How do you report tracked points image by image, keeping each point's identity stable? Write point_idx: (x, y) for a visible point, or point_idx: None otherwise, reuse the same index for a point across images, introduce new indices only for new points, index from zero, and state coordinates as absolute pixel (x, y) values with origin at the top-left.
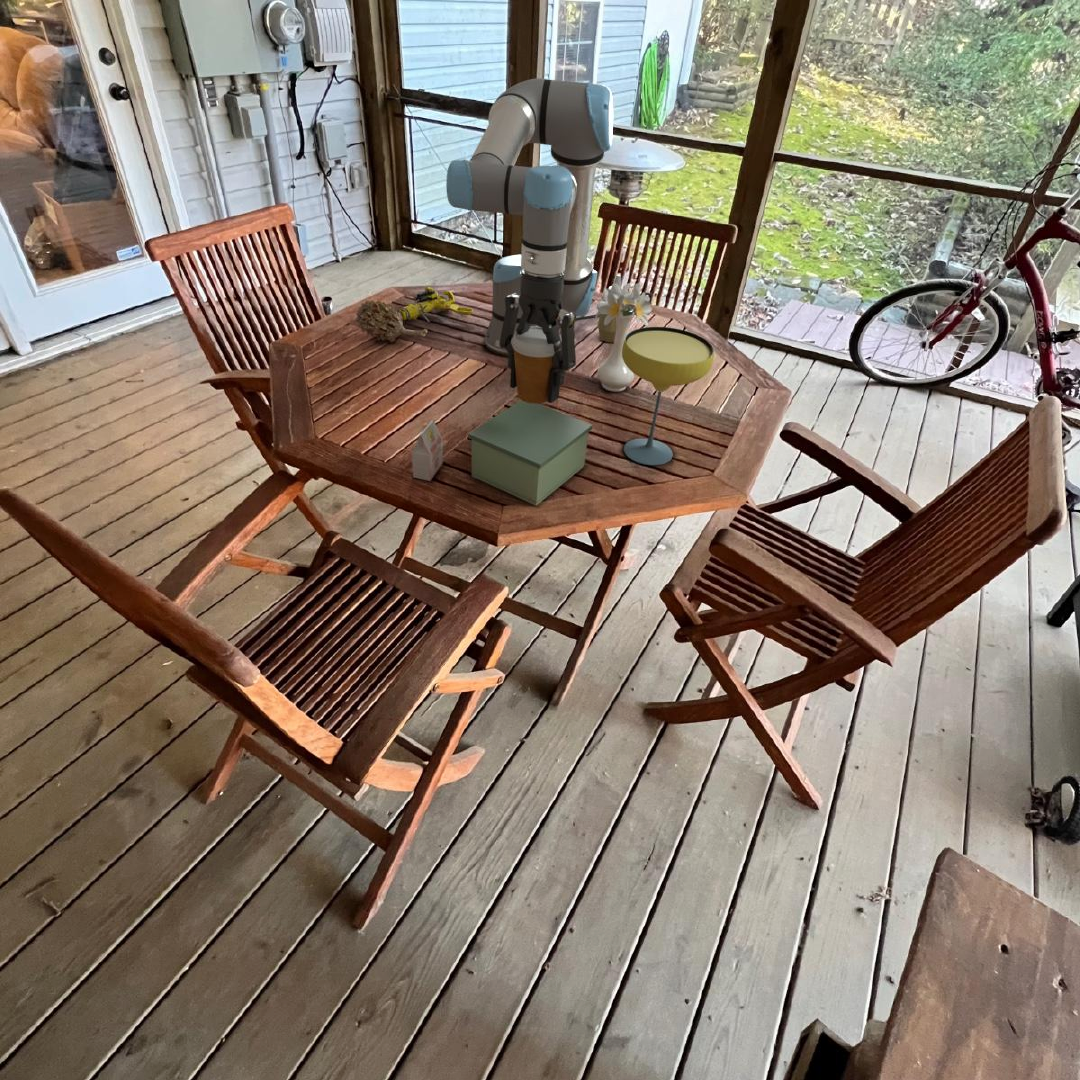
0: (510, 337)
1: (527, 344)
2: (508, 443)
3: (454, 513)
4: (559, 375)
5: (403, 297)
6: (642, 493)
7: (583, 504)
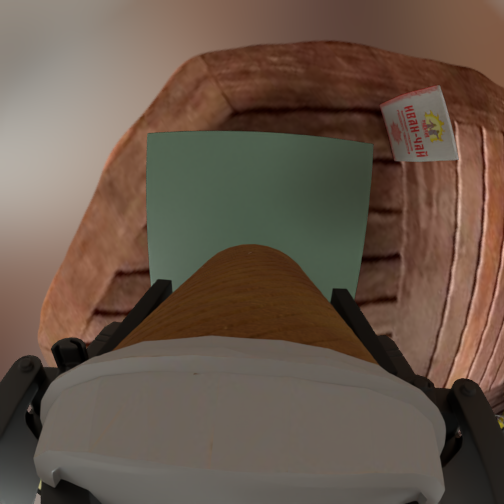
0: (442, 450)
1: (166, 458)
2: (264, 161)
3: (289, 51)
4: (89, 350)
5: None
6: (89, 284)
7: (129, 203)
